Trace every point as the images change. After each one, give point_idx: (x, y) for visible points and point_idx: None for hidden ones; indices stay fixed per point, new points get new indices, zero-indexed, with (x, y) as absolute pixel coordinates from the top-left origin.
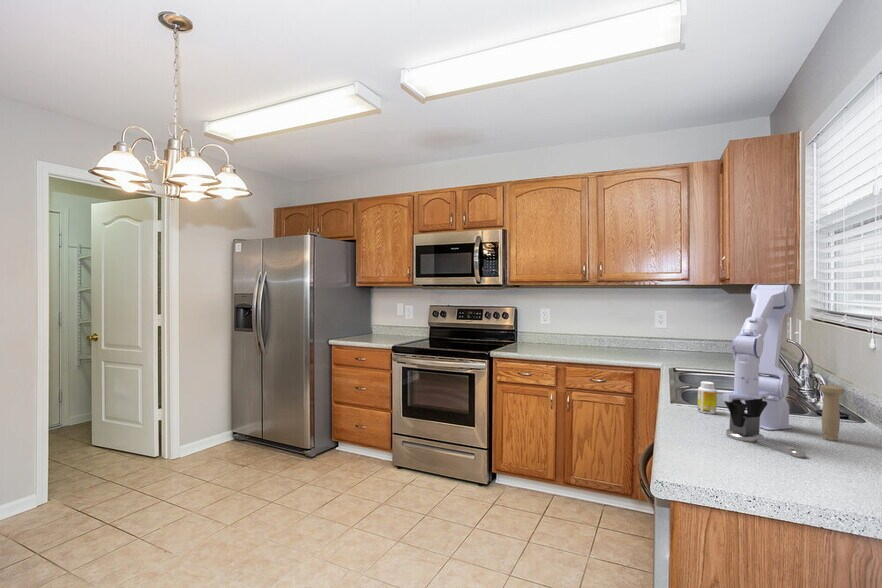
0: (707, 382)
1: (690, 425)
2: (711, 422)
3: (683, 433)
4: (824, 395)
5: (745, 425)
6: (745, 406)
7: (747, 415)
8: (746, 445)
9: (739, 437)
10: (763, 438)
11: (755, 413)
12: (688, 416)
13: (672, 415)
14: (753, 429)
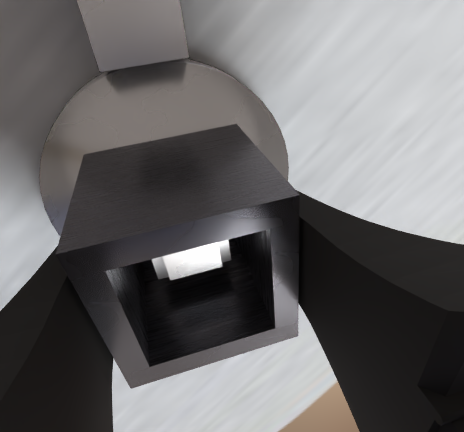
0: None
1: (309, 330)
2: (171, 384)
3: (444, 227)
4: None
5: (264, 161)
6: (460, 286)
7: (137, 326)
8: (310, 3)
9: (276, 123)
10: (112, 57)
11: (73, 326)
12: (215, 425)
13: (271, 418)
14: (158, 158)
